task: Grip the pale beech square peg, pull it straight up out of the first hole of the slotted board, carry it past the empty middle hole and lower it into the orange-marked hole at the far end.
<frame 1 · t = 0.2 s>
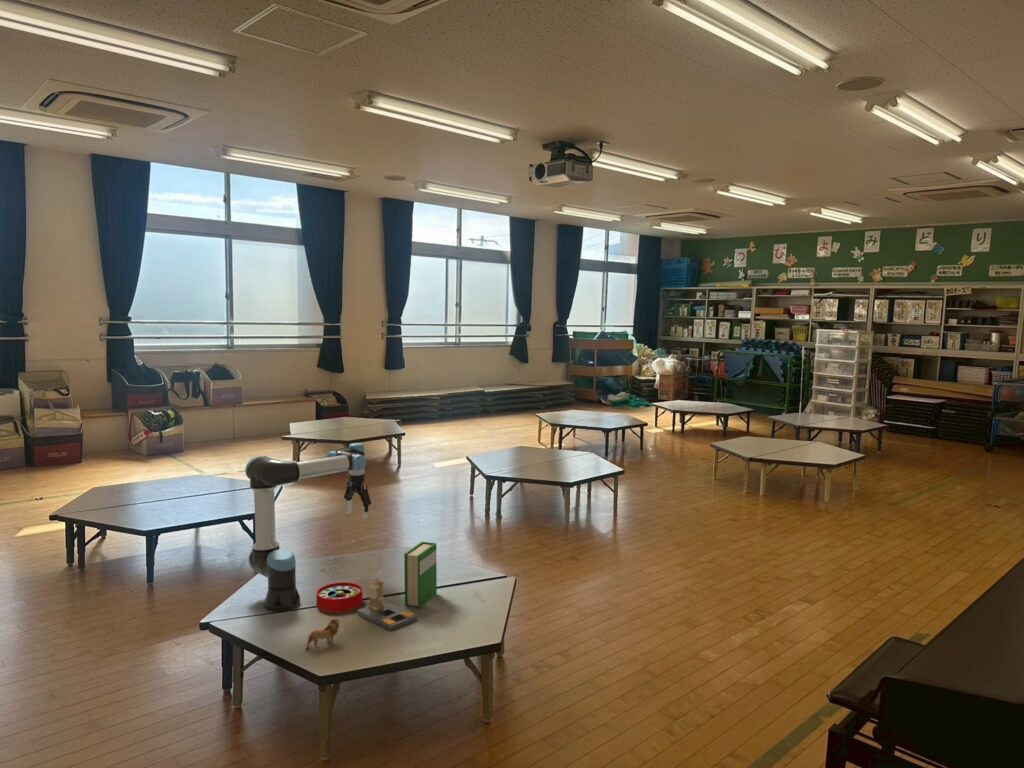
hand: (357, 515, 348), 28 cm above the table, tool pointing down, fingers open, 13 cm apart
slotted board: (387, 617, 294), on the table
lion figurine: (323, 645, 269), on the table
peg: (376, 612, 299), resting in slotted board
hardback book: (421, 600, 312), on the table
toy clock: (339, 603, 309), on the table
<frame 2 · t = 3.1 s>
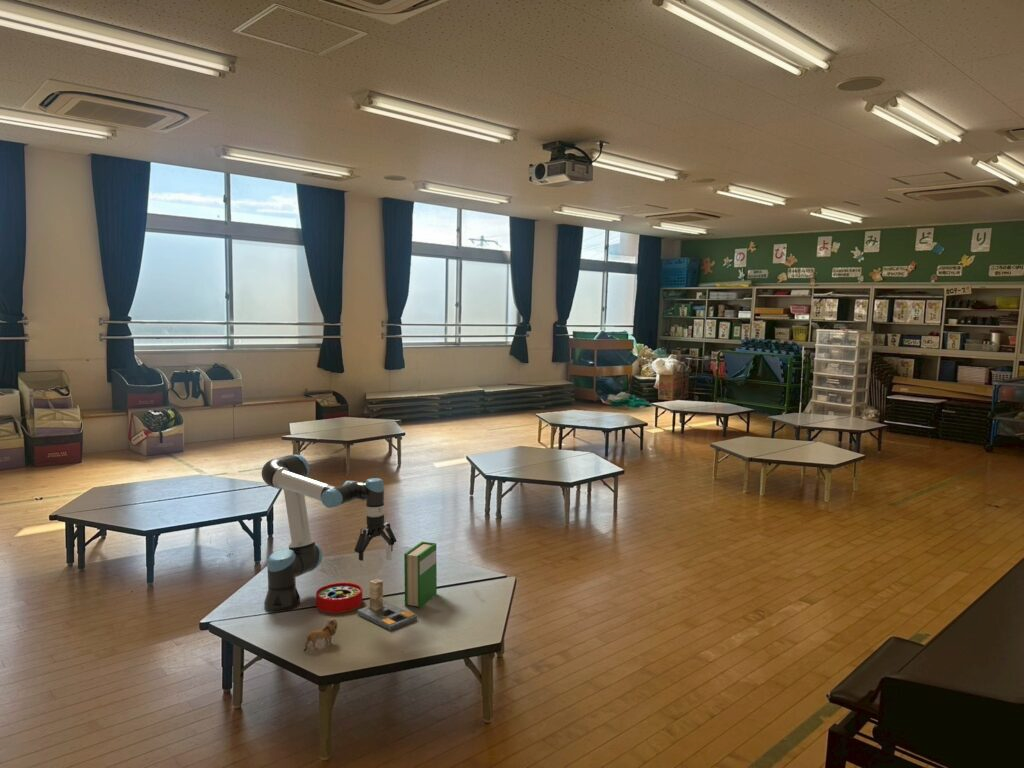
hand: (376, 563, 297), 22 cm above the table, tool pointing down, fingers open, 13 cm apart
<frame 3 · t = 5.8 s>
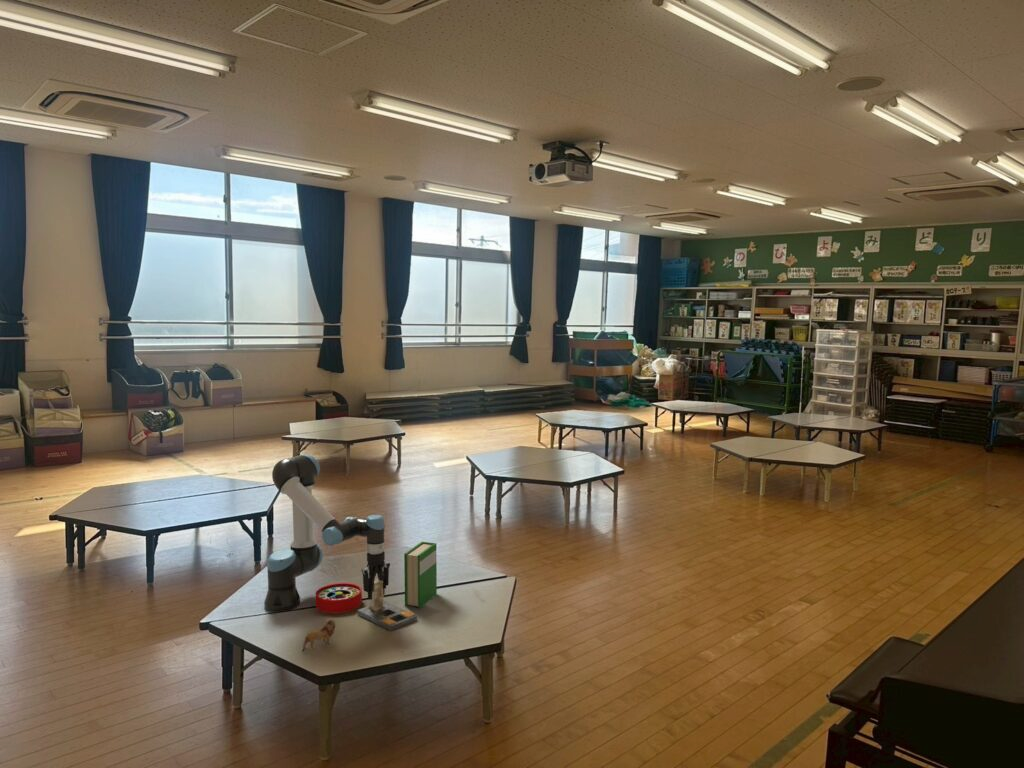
hand: (376, 604, 298), 4 cm above the table, tool pointing down, fingers closed on peg, 4 cm apart
peg: (376, 612, 299), resting in slotted board, touching gripper
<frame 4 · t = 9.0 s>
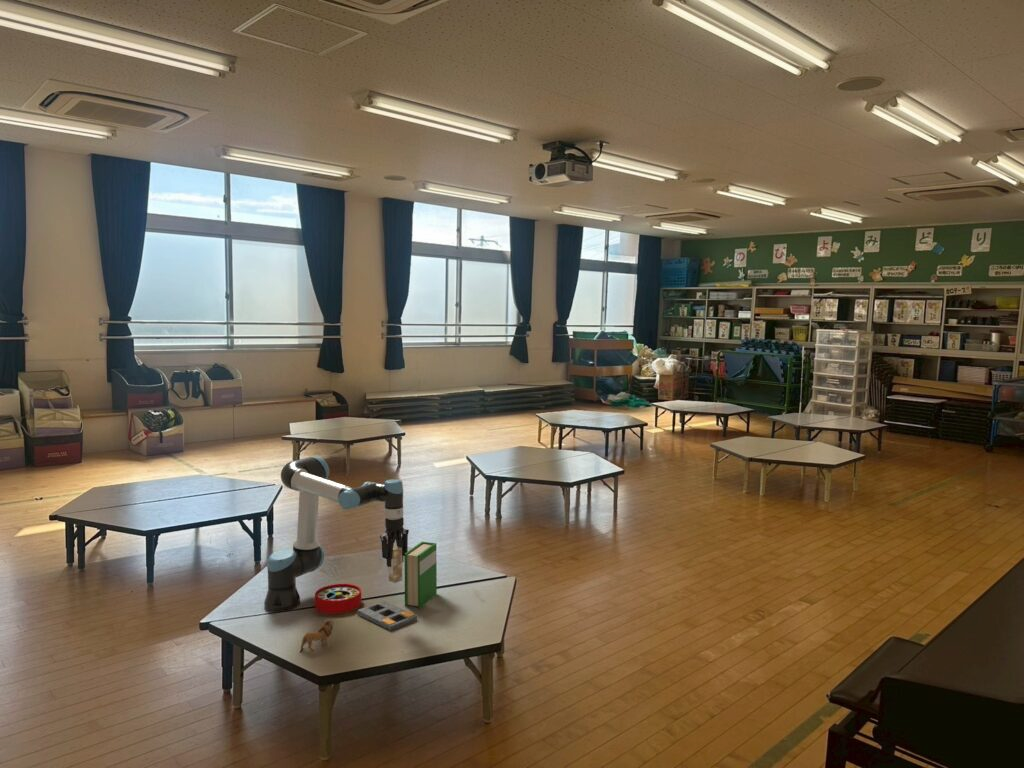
hand: (395, 572, 288), 21 cm above the table, tool pointing down, fingers closed on peg, 4 cm apart
peg: (395, 580, 288), point 18 cm above the table, touching gripper
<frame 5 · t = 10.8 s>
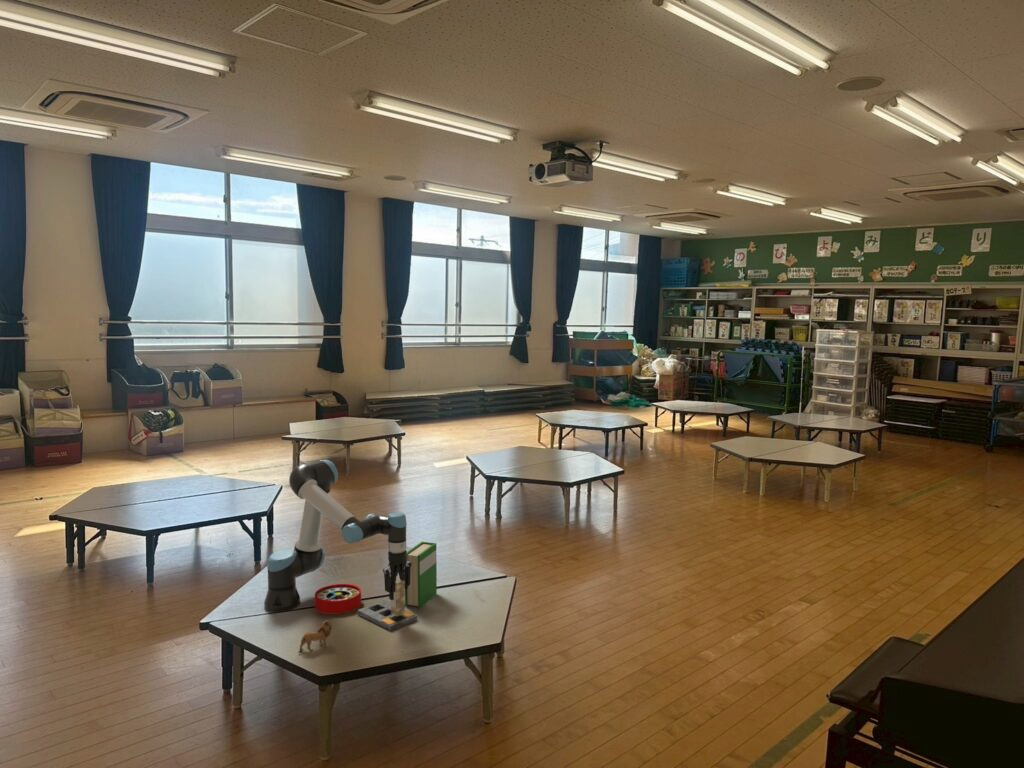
hand: (397, 604, 288), 8 cm above the table, tool pointing down, fingers closed on peg, 4 cm apart
peg: (398, 613, 288), point 4 cm above the table, touching gripper
when the fingers open (5 cm above the table, at t = 12.4 s): peg stays where it is, resting in slotted board.
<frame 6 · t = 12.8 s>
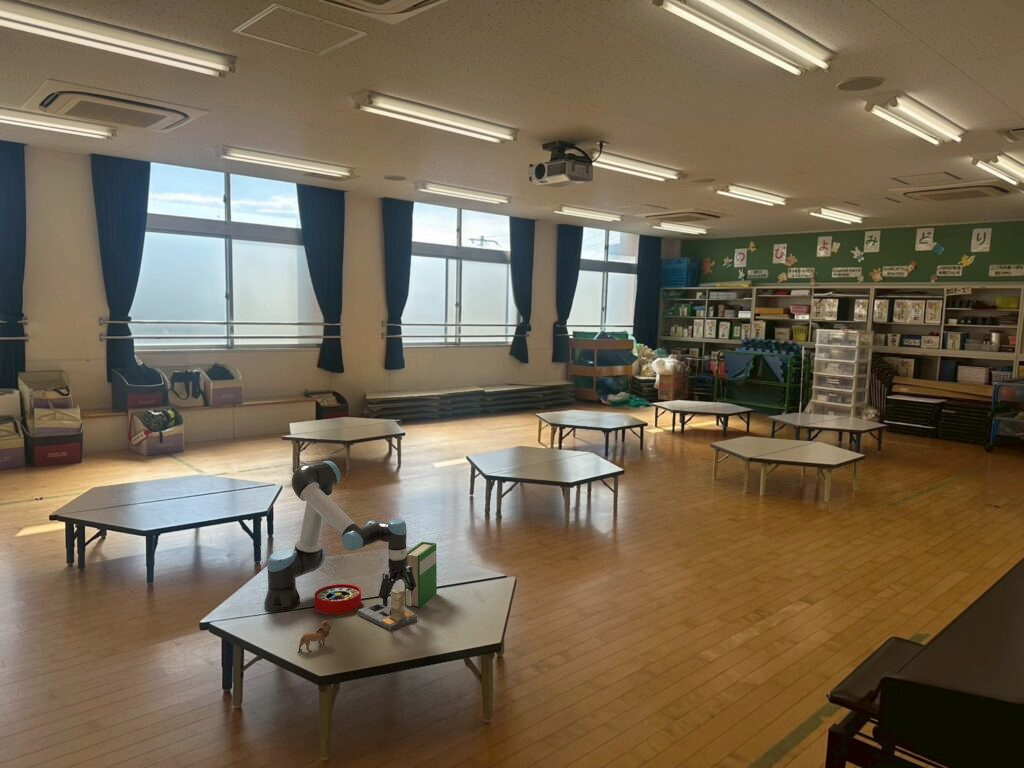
hand: (397, 609, 288), 6 cm above the table, tool pointing down, fingers open, 10 cm apart
peg: (398, 622, 289), resting in slotted board
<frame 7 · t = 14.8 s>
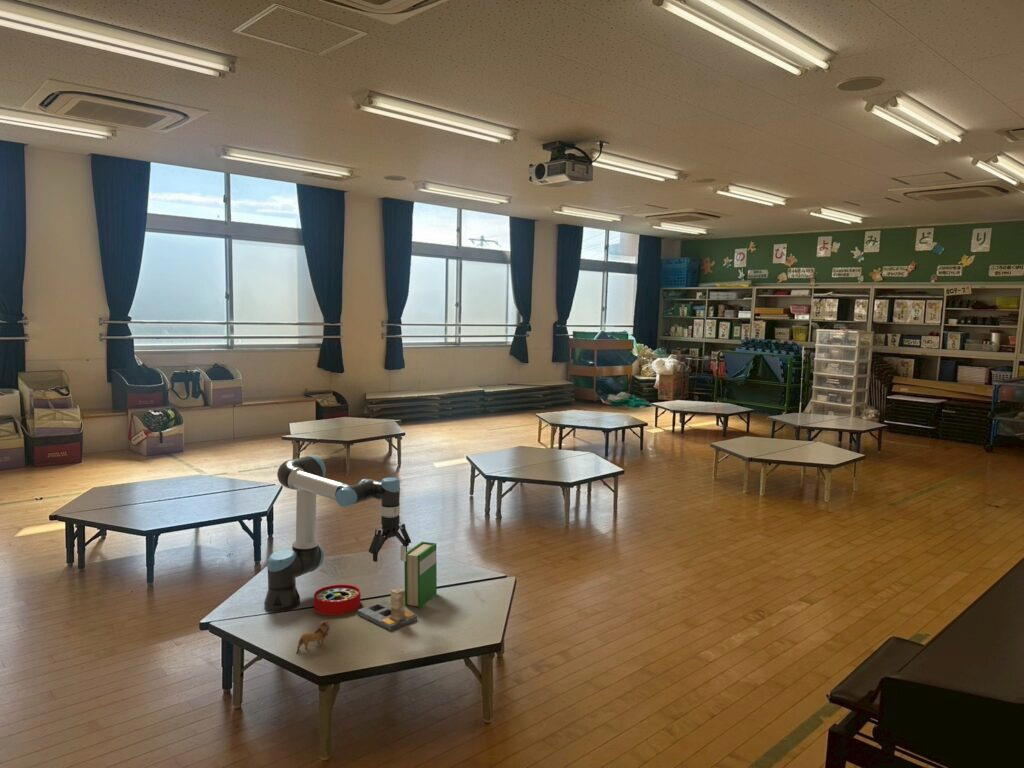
hand: (390, 564, 290), 24 cm above the table, tool pointing down, fingers open, 13 cm apart
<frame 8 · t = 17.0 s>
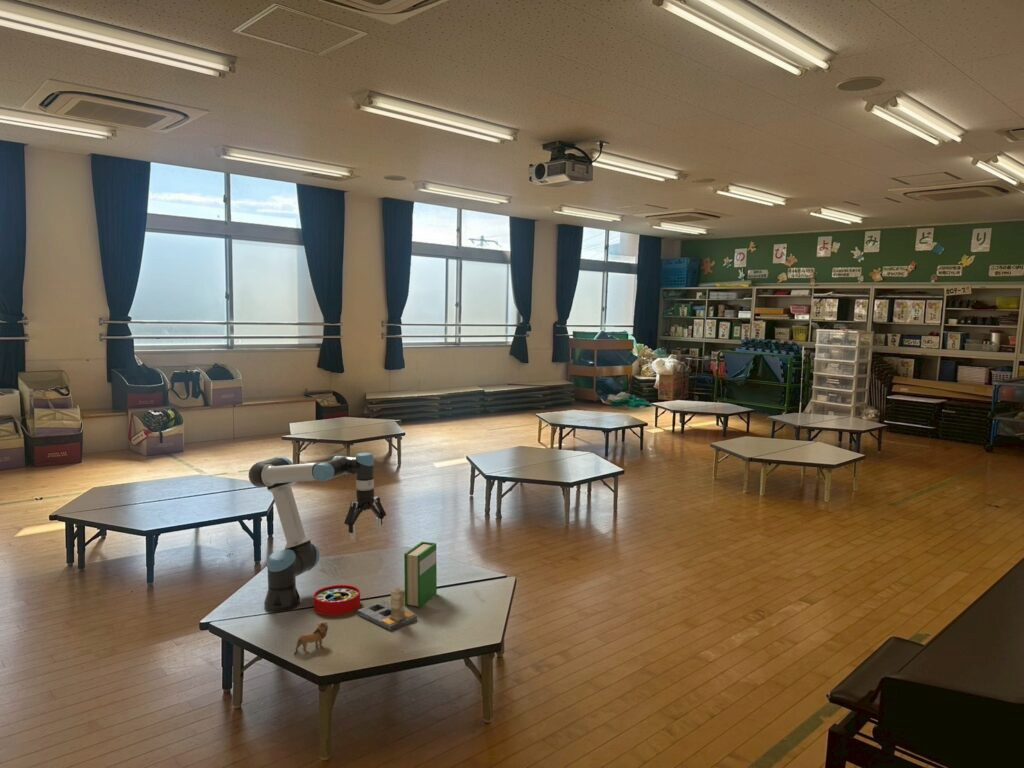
hand: (365, 536, 302), 32 cm above the table, tool pointing down, fingers open, 13 cm apart
at the end: peg 0.0 cm from the target spot on the slotted board, point 0.0 cm above the slotted board's base; peg tilted 0°; the gripper is holding nothing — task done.
